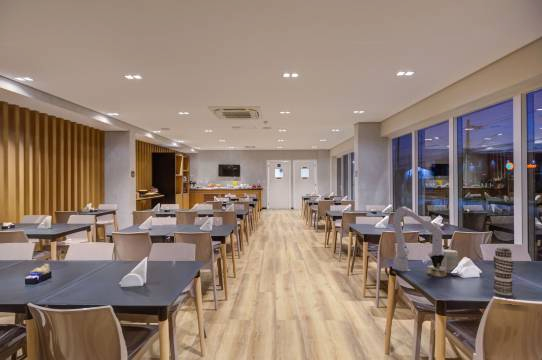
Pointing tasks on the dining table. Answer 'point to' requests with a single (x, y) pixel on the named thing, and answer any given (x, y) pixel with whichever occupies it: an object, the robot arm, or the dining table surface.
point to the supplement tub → (450, 260)
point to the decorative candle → (503, 271)
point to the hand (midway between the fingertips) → (436, 266)
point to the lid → (437, 267)
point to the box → (437, 273)
